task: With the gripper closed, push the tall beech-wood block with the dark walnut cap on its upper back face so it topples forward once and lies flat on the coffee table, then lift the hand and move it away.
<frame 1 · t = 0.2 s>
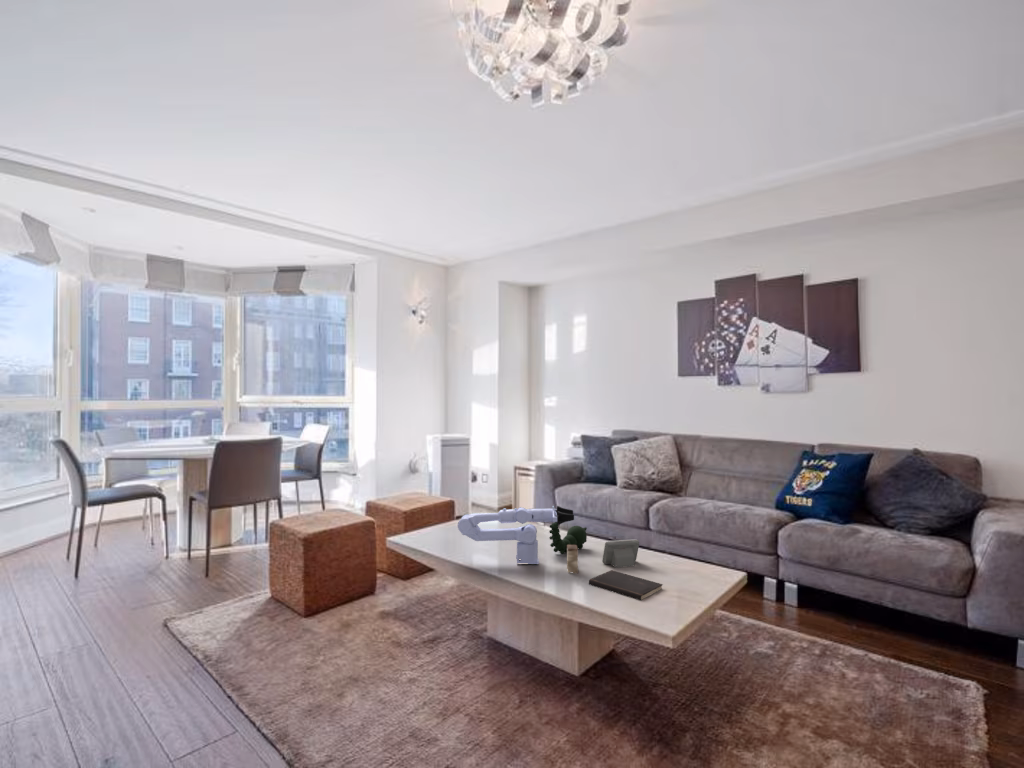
hand: (573, 515, 227), 21 cm above the table, tool horizontal, fingers open, 7 cm apart
toy figurine: (569, 551, 244), on the table
hardcover book: (625, 588, 199), on the table
digital clock: (620, 564, 226), on the table
beech block: (572, 570, 217), on the table
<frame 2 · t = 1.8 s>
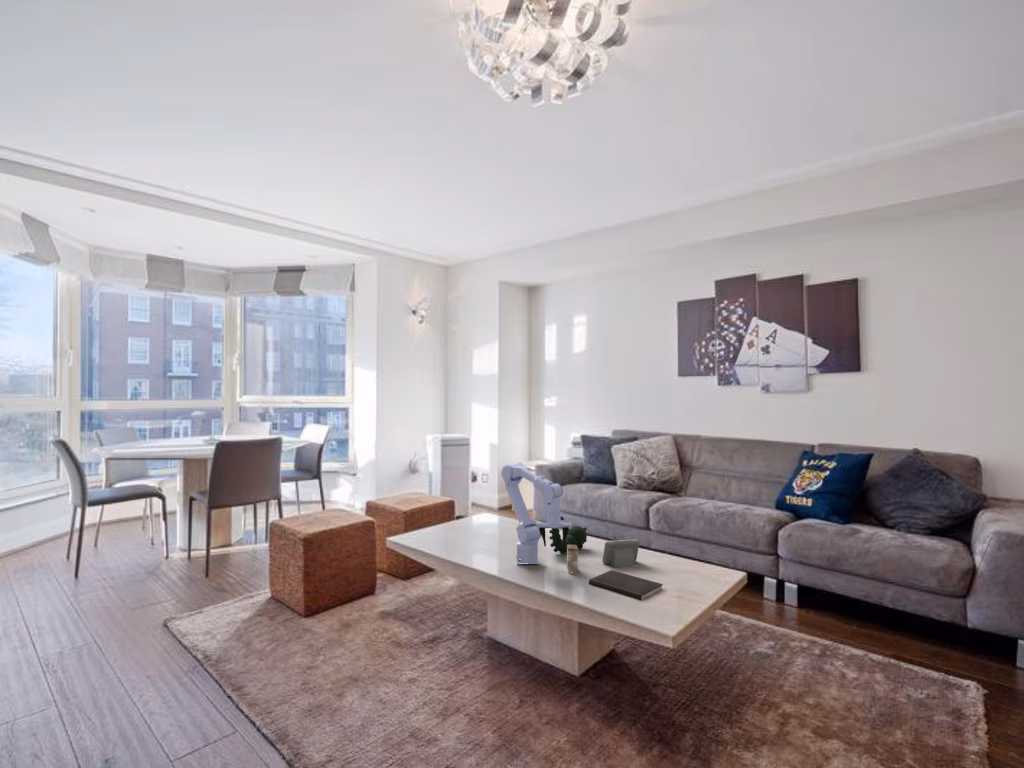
hand: (554, 545, 217), 10 cm above the table, tool pointing down, fingers open, 7 cm apart
nothing on the table moved.
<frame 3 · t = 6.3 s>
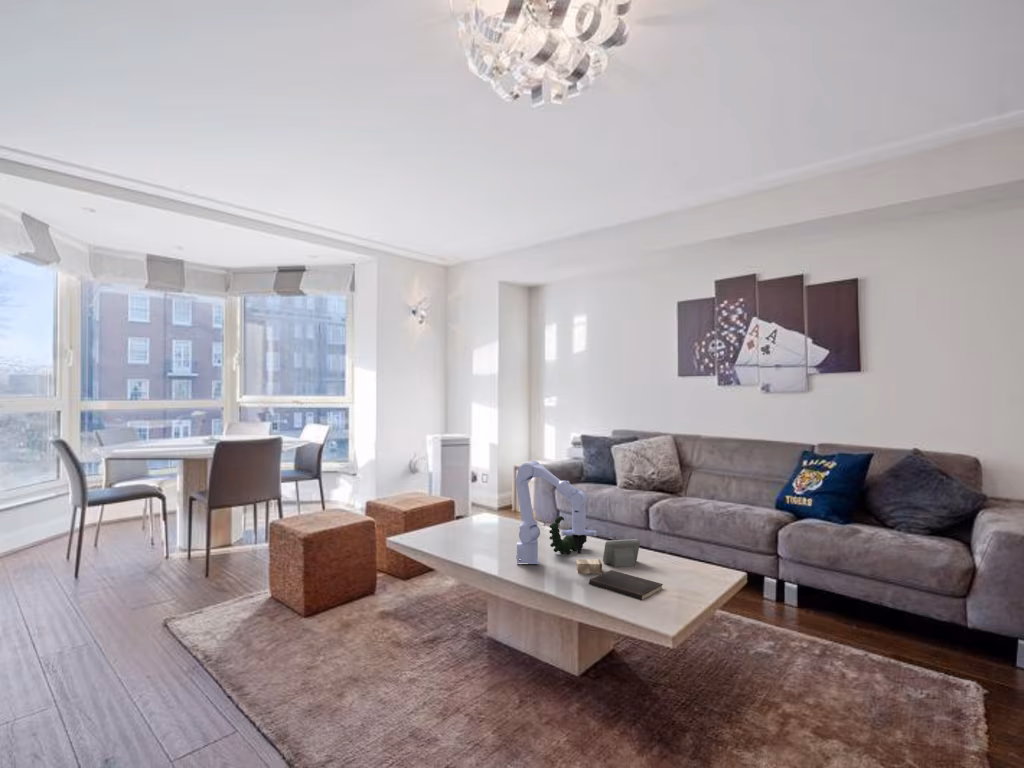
hand: (578, 552, 217), 7 cm above the table, tool pointing down, fingers closed
beech block: (577, 566, 217), point 2 cm above the table, tilted 90°
everything else where it was.
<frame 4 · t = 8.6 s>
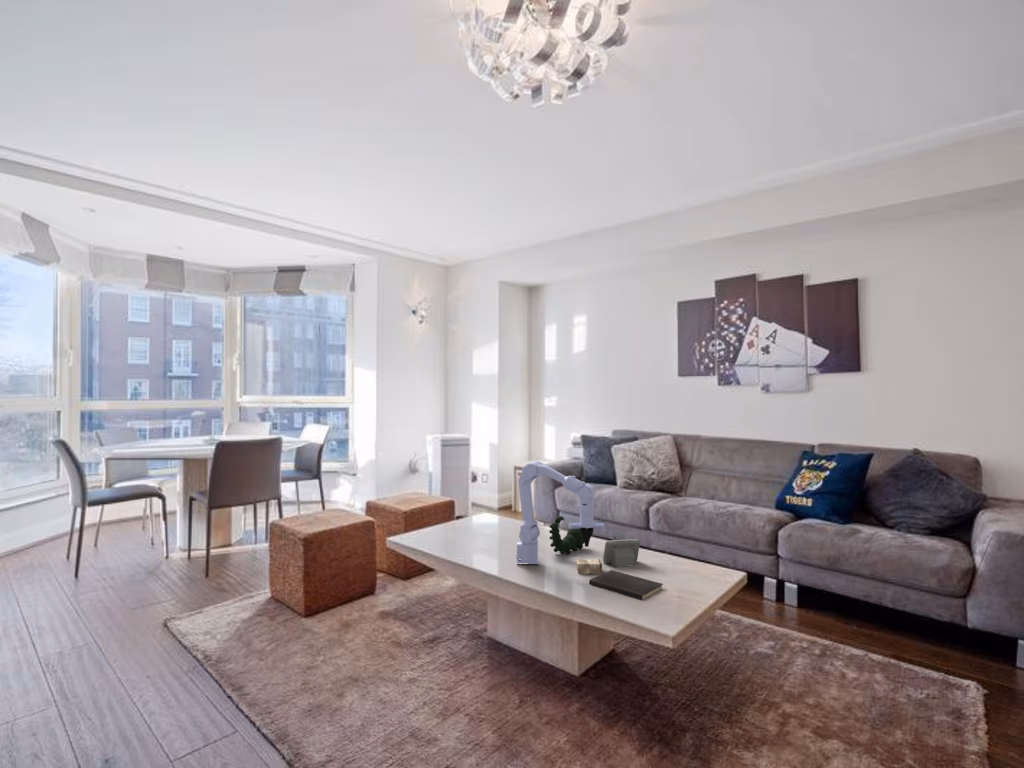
hand: (586, 545, 217), 10 cm above the table, tool pointing down, fingers closed
nothing on the table moved.
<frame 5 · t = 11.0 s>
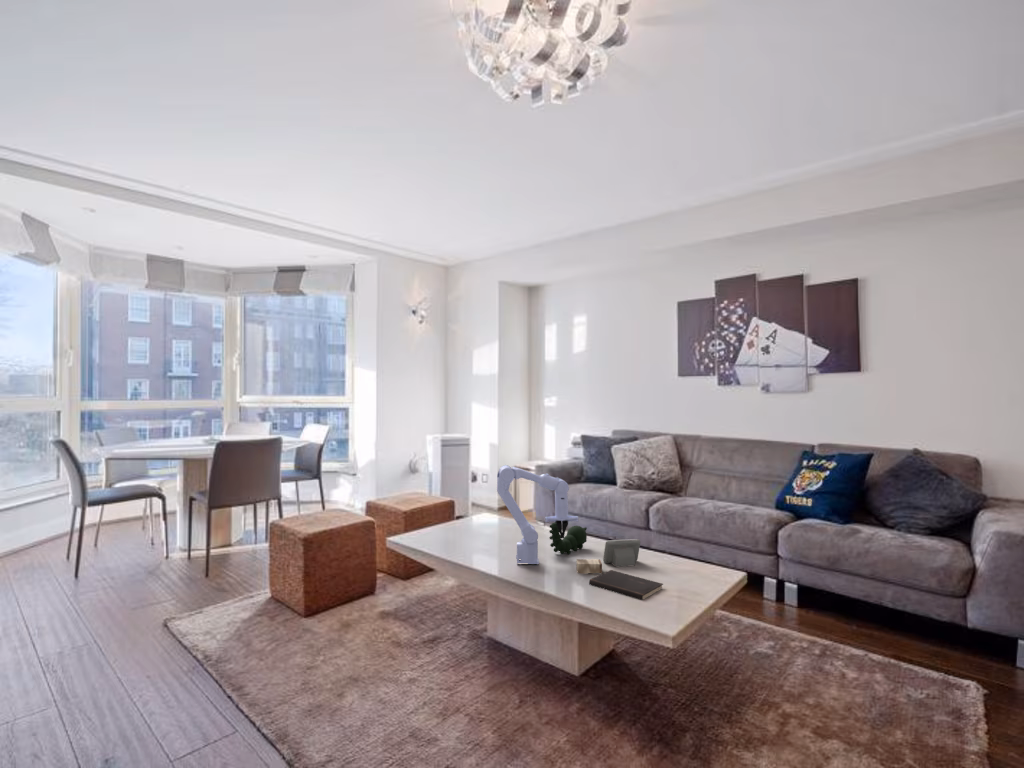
hand: (562, 537, 229), 10 cm above the table, tool pointing down, fingers closed
at the end: beech block tilted 90°; beech block inside the target area (3.5 cm from its centre), point 1.9 cm above the table; beech block touching table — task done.
